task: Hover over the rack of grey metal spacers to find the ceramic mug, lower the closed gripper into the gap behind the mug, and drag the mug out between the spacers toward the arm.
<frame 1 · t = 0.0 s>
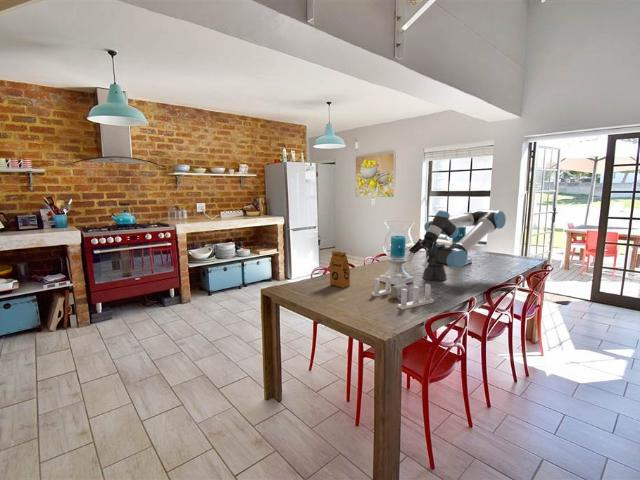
hand: (415, 264, 192), 15 cm above the table, tool tilted 35°, fingers open, 13 cm apart
ceramic mug: (401, 299, 180), on the table
coffee package: (340, 286, 206), on the table
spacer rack: (401, 298, 180), on the table
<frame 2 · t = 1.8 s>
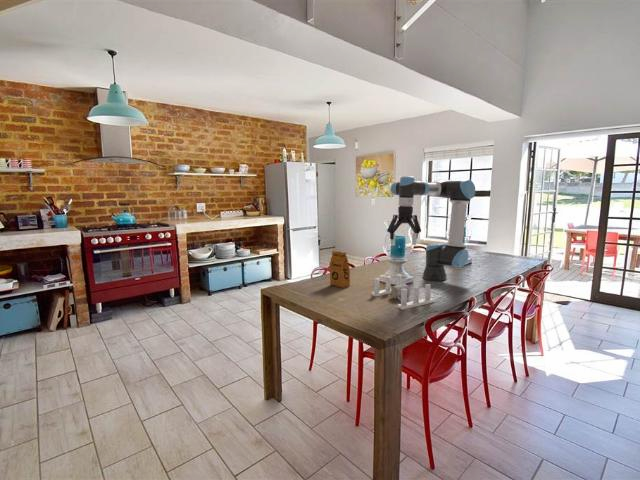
hand: (403, 245, 177), 30 cm above the table, tool pointing down, fingers open, 13 cm apart
nothing on the table moved.
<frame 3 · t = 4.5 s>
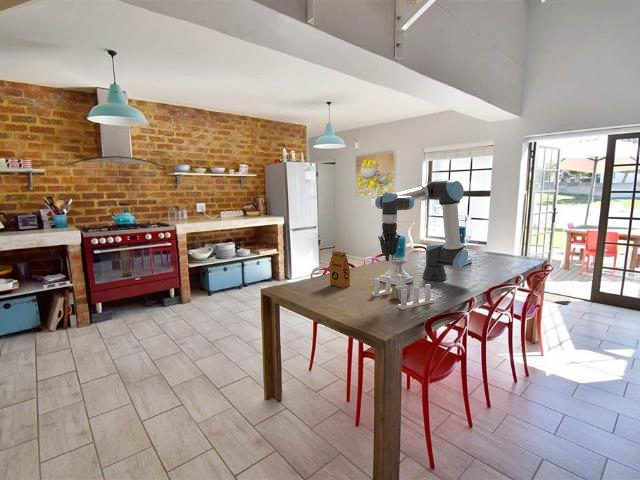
hand: (388, 266, 173), 19 cm above the table, tool pointing down, fingers closed
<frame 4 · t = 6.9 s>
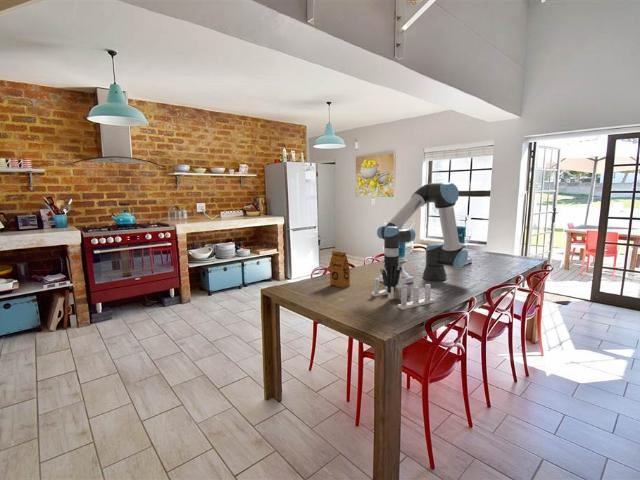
hand: (390, 298, 177), 1 cm above the table, tool pointing down, fingers closed
ceramic mug: (402, 299, 178), on the table, touching gripper
everything else where it was.
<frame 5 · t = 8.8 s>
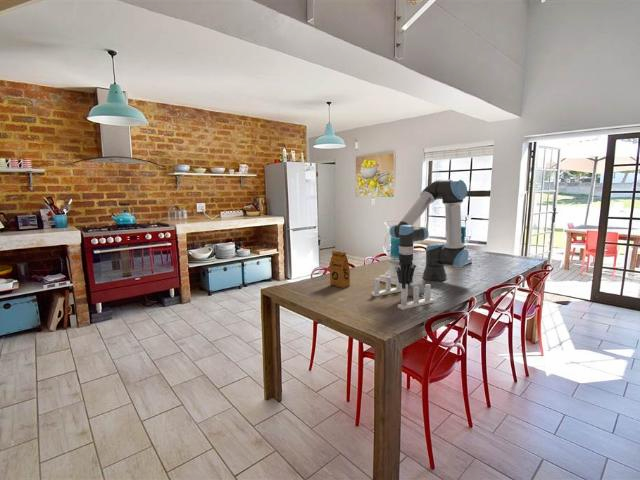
hand: (405, 295, 181), 1 cm above the table, tool pointing down, fingers closed
ceramic mug: (416, 296, 183), on the table, touching gripper
everything else where it was.
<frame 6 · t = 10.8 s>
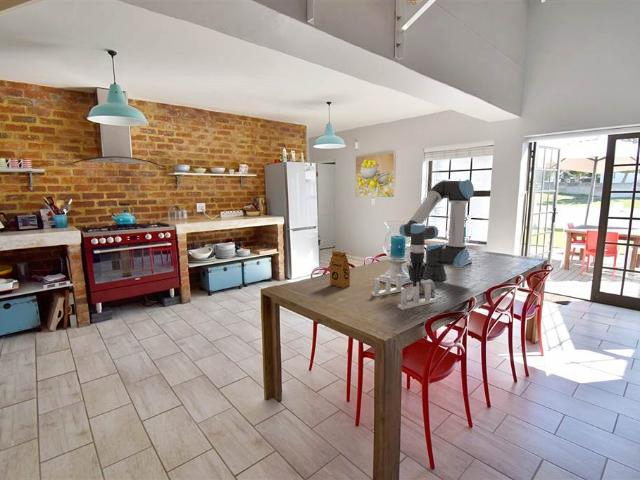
hand: (416, 292, 184), 2 cm above the table, tool pointing down, fingers closed
ceramic mug: (426, 294, 186), on the table, touching gripper
everything else where it was.
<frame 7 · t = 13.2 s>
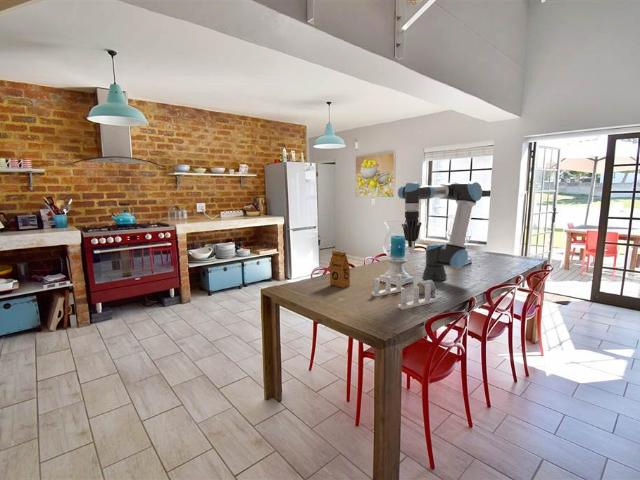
hand: (411, 252, 185), 24 cm above the table, tool pointing down, fingers closed
ceramic mug: (427, 294, 186), on the table
everything else where it was.
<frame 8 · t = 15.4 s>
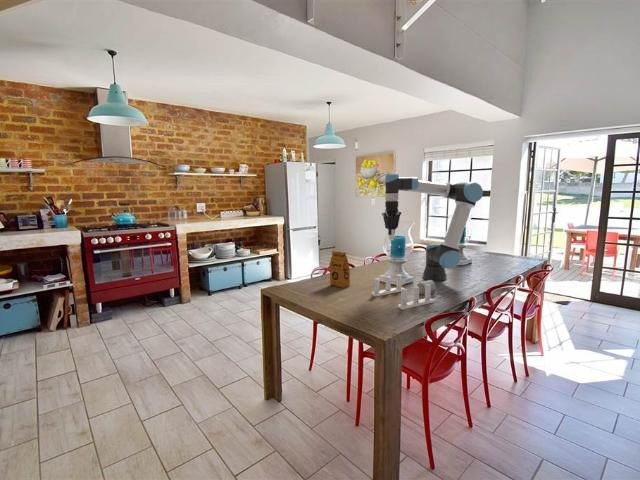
hand: (391, 240, 196), 29 cm above the table, tool pointing down, fingers closed
nothing on the table moved.
at the end: ceramic mug inside the target area (3.6 cm from its centre), on the table; ceramic mug tilted 0°; ceramic mug moved 17.5 cm from its start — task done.
